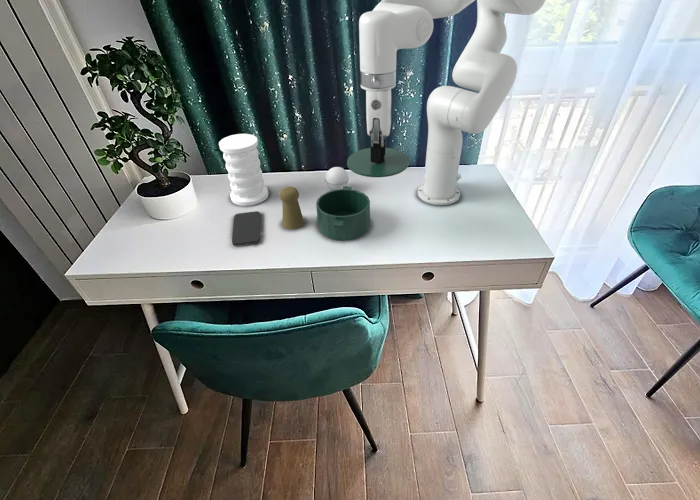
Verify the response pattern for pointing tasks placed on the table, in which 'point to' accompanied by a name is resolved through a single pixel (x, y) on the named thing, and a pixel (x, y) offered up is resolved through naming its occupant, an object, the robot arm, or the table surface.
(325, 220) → the pot
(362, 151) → the lid
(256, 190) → the decorative container
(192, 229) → the table surface
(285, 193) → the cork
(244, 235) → the phone
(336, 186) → the white rounded upright piece
